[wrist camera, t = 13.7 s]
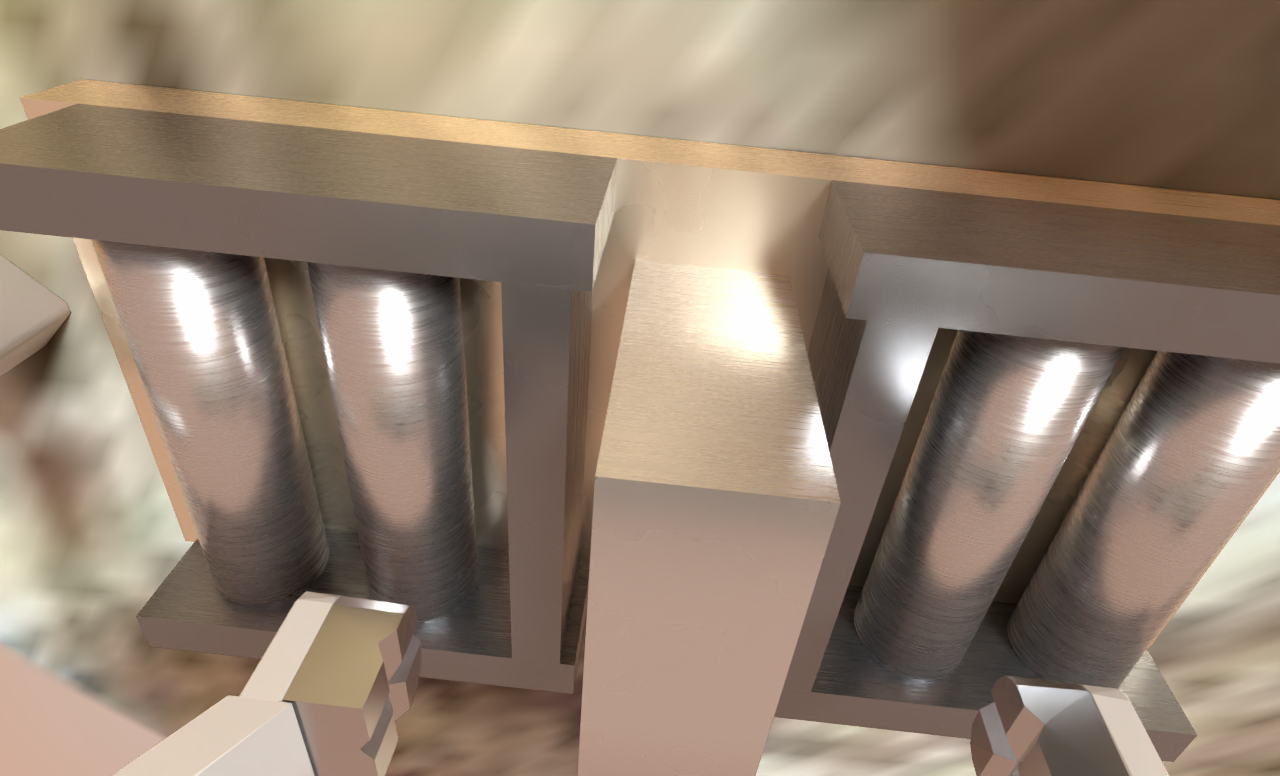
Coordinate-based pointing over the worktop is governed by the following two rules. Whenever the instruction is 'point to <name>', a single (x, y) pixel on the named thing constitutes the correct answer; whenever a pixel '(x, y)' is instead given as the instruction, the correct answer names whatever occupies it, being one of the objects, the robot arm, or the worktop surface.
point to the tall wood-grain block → (701, 525)
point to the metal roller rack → (585, 364)
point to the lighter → (25, 315)
